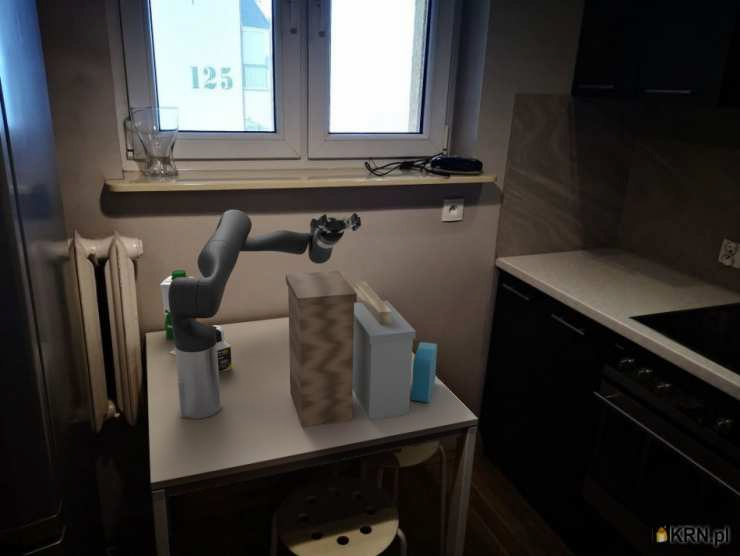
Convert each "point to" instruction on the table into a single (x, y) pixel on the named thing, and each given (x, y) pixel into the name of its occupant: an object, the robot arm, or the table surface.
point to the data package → (424, 372)
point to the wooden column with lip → (321, 346)
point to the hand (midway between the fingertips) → (340, 217)
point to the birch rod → (372, 303)
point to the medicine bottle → (222, 349)
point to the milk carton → (165, 291)
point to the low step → (382, 363)
